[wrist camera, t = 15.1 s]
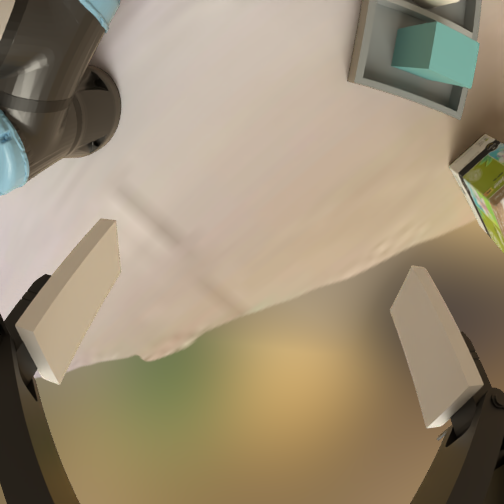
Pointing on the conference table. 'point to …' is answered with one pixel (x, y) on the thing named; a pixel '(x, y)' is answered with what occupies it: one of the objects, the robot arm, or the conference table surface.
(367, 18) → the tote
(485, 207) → the tea box
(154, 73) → the conference table surface
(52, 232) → the conference table surface
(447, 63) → the teal carton
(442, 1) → the cream rounded capsule
